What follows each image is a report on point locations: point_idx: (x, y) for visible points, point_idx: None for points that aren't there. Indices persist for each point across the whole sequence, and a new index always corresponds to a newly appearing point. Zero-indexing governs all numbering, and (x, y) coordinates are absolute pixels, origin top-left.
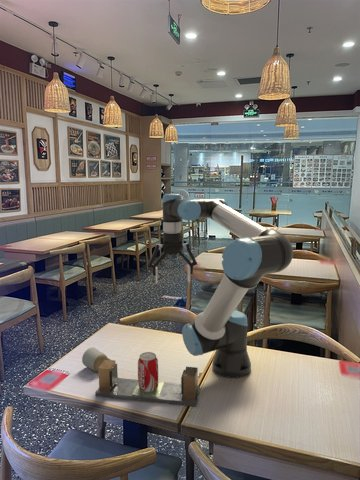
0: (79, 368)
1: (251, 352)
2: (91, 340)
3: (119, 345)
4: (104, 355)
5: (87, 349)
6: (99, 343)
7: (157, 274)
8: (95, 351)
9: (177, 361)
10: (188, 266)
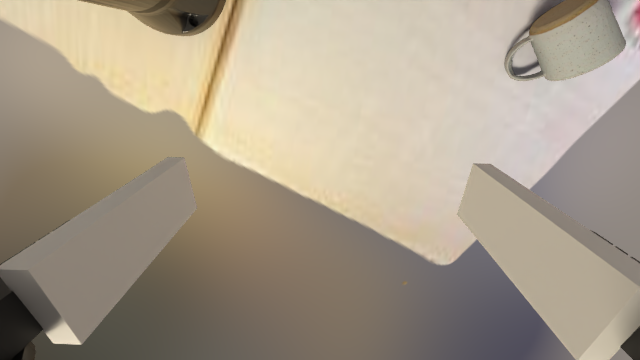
0: None
1: (114, 61)
2: None
3: (456, 160)
4: (567, 16)
5: (619, 53)
6: None
7: (545, 216)
8: (599, 33)
9: (323, 42)
10: (50, 311)
